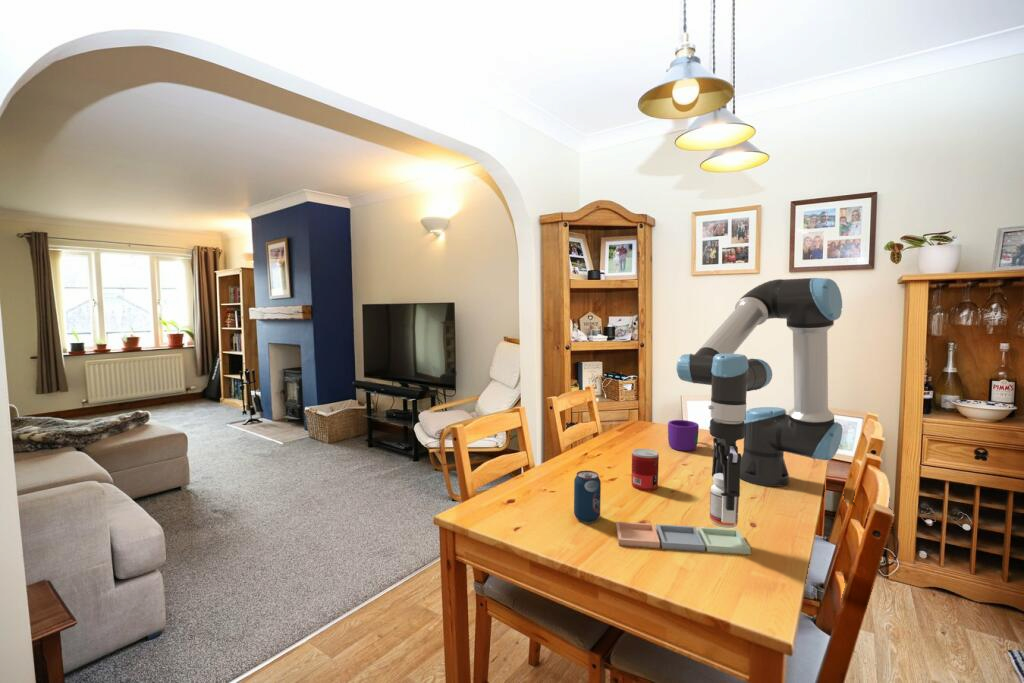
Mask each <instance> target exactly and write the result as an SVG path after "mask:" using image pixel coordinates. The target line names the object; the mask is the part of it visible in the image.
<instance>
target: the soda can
mask: <svg viewBox="0 0 1024 683" xmlns="http://www.w3.org/2000/svg"><path fill="white" fill-rule="evenodd" d="M599 475H600V474H599V473H598V472H596V471H593V470H580V471H578V472H576V476H575V477H574V480H573V481H574V482H573V484H574V485H573V486H574V487H573V488H574V489H573V490H574V491H573V493H574V494H573V514H574V517H575V518H576V519H577V520H578V521H580V522H582V523H587V524H590V523H595V522H597V521H598V520H599V518H600V517H601V486H602V485H601V484H602V483H601V479H600V476H599Z"/></svg>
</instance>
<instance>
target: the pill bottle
mask: <svg viewBox="0 0 1024 683" xmlns="http://www.w3.org/2000/svg"><path fill="white" fill-rule="evenodd" d="M712 482H713V484H712V485H711V486H710V492H709V495H710V497H709V498H710V500H709V521H710V523H712V524H713V525H715V526H717V527H718V528H724V529H734V528H736V527H737V526H738V522H739V504H740V503H739V501H740V496H739V497H736V505H735V523H722V521H721V520H722V496H721V493H724V479H723V473H716V474H714V477H713V479H712Z"/></svg>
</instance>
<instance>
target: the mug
mask: <svg viewBox="0 0 1024 683" xmlns="http://www.w3.org/2000/svg"><path fill="white" fill-rule="evenodd" d="M699 427H700V426H699V424H698V423H697V422H694V421H690V420H687V419H686V420H684V419H674V420H669V421H668V423H667V439H668V445H669V447H670V448H671V449H673V450H676V451H680V452H692V451H695V450H696V449H697V446H698V441H699Z"/></svg>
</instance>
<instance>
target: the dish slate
mask: <svg viewBox="0 0 1024 683" xmlns="http://www.w3.org/2000/svg"><path fill="white" fill-rule="evenodd" d="M655 526H656V527H655V528H656V532H657V535H658V538H659V541H660V547H661V549H664V550H675V551H676V550H679V551H691V552H692V551H693V552H705V550H706V548H705V545H704V543H703V541H702V539H701V537H700V535H699V533H698V528H697V527H696V526H689V525H675V524H661V523H656V525H655Z"/></svg>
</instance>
